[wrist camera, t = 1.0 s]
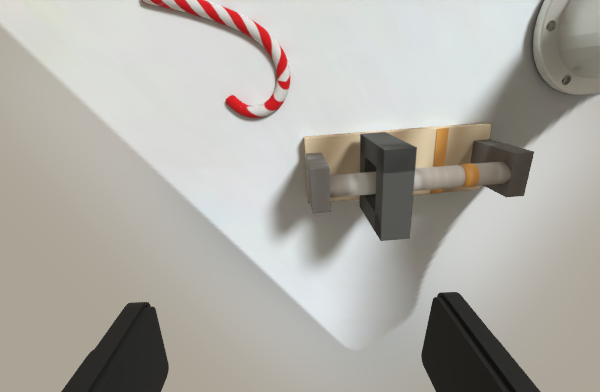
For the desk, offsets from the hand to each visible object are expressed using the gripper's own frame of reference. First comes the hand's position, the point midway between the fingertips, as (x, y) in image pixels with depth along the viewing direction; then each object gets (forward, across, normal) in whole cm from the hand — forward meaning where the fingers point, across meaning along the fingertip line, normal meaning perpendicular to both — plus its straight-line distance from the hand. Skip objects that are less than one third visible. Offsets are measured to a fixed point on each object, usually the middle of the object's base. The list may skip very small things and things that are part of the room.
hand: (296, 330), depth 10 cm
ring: (+20, -8, 0) cm, 22 cm away
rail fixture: (+23, -11, 0) cm, 25 cm away
